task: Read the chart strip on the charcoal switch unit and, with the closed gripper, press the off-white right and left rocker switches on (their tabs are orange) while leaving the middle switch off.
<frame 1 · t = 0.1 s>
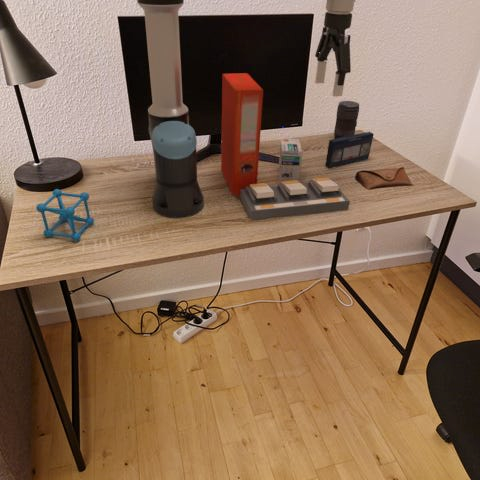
hand: (328, 89, 133), 28 cm above the table, tool pointing down, fingers open, 13 cm apart
camera lens: (342, 141, 172), on the table
file binder: (238, 182, 142), on the table
molecular structure: (70, 231, 116), on the table
switch right: (325, 184, 131), point 5 cm above the table, hinge at -10.0°
light bulb box: (288, 175, 147), on the table
vhs cassette tape: (346, 163, 156), on the table
switch unit: (293, 203, 131), on the table
switch left: (261, 190, 127), point 5 cm above the table, hinge at -10.0°
switch middle: (293, 187, 129), point 5 cm above the table, hinge at -10.0°
sunglasses case: (383, 183, 145), on the table
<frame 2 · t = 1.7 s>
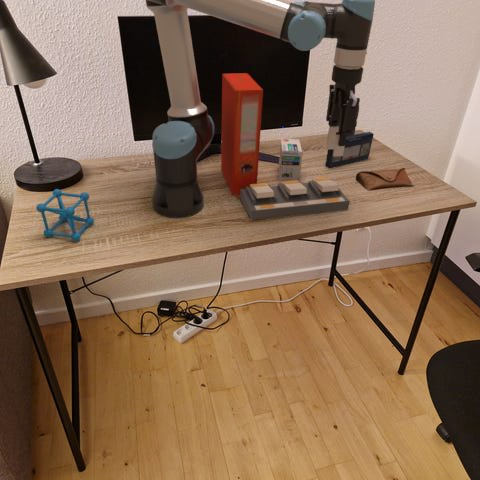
hand: (334, 152, 122), 17 cm above the table, tool pointing down, fingers open, 4 cm apart
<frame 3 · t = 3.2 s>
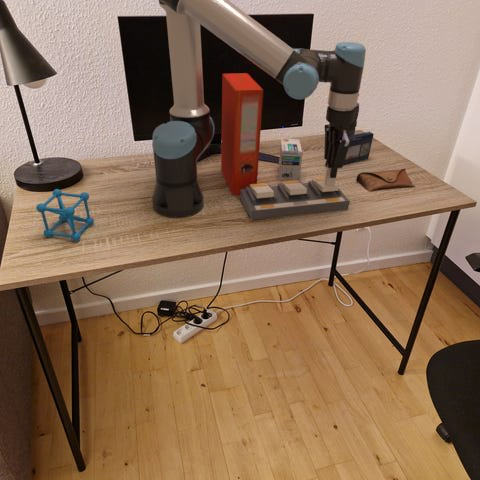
hand: (329, 185, 128), 6 cm above the table, tool pointing down, fingers closed
switch right: (325, 184, 131), point 5 cm above the table, hinge at -10.0°, touching gripper
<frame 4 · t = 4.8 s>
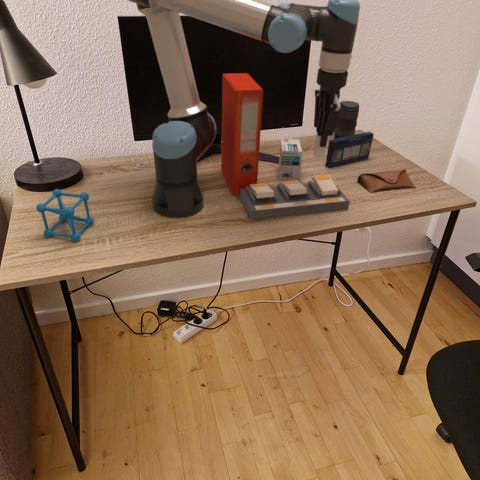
hand: (318, 155, 122), 16 cm above the table, tool pointing down, fingers closed
switch right: (325, 184, 131), point 5 cm above the table, hinge at 9.7°
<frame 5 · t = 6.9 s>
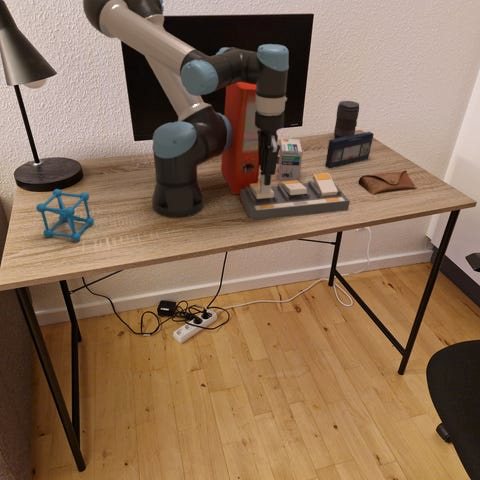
hand: (265, 193, 124), 6 cm above the table, tool pointing down, fingers closed
switch right: (325, 184, 131), point 5 cm above the table, hinge at 16.7°
switch left: (261, 190, 127), point 5 cm above the table, hinge at -7.2°, touching gripper
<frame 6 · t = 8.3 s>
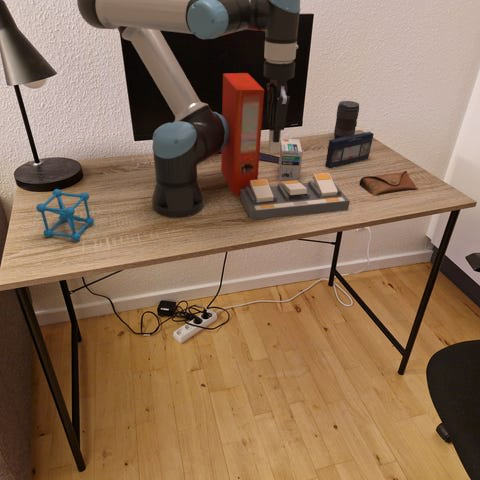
hand: (273, 151, 118), 18 cm above the table, tool pointing down, fingers closed
switch right: (325, 184, 131), point 5 cm above the table, hinge at 18.0°
switch left: (261, 190, 127), point 5 cm above the table, hinge at 12.4°
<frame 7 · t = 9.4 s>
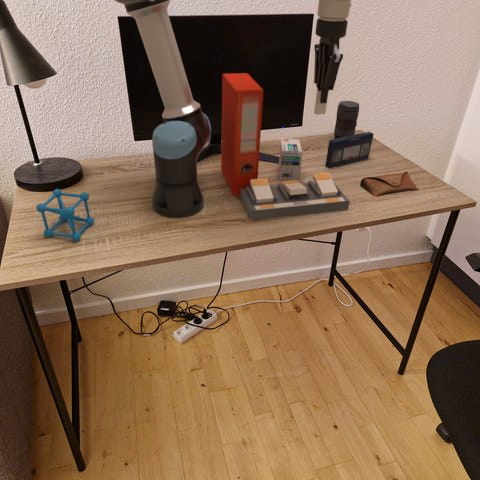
hand: (319, 113, 119), 26 cm above the table, tool pointing down, fingers closed
switch right: (325, 184, 131), point 5 cm above the table, hinge at 18.4°, touching switch unit
switch left: (261, 190, 127), point 5 cm above the table, hinge at 18.0°
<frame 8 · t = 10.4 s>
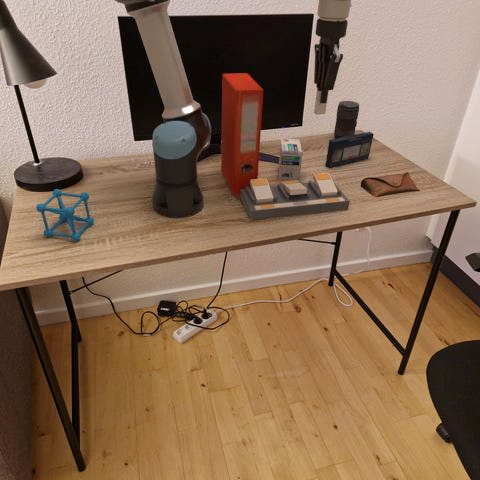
hand: (319, 113, 119), 26 cm above the table, tool pointing down, fingers closed
at the end: switch right at +18° (first picture: -10°); switch left at +18° (first picture: -10°); switch middle at -10° (first picture: -10°) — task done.
